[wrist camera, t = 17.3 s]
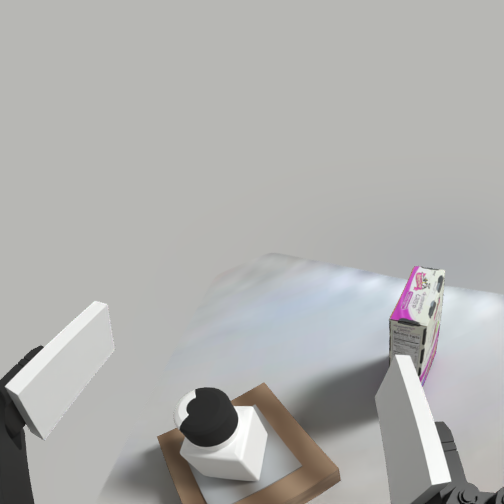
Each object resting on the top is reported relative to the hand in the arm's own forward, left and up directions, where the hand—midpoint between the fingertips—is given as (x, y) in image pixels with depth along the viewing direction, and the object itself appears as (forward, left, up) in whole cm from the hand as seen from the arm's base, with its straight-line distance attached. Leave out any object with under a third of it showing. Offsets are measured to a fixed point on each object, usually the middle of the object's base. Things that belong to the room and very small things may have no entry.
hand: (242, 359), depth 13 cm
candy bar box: (-24, -8, -31) cm, 40 cm away
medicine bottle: (+4, -11, -26) cm, 28 cm away
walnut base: (+4, -11, -31) cm, 33 cm away
